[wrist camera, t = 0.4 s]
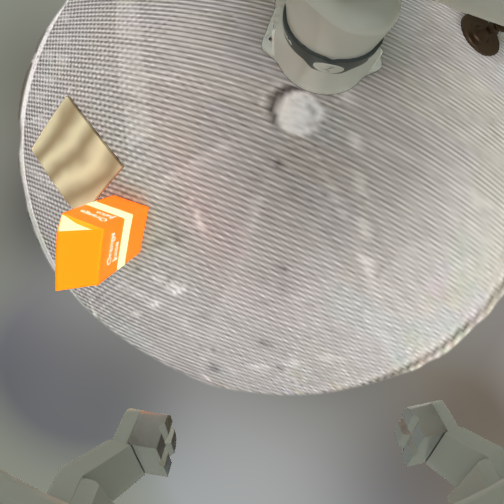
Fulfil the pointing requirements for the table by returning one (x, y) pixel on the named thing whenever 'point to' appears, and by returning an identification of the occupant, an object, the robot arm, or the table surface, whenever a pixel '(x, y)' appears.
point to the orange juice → (97, 241)
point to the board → (75, 156)
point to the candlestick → (481, 34)
